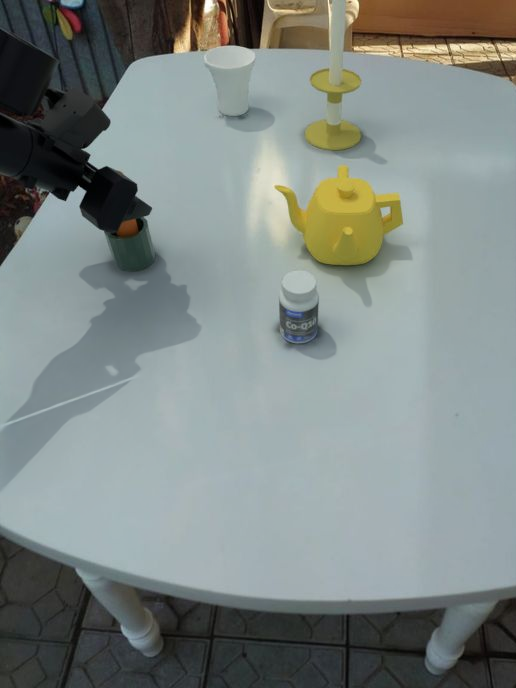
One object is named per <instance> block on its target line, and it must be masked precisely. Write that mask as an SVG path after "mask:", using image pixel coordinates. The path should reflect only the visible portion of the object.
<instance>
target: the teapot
mask: <svg viewBox="0 0 516 688" xmlns="http://www.w3.org/2000/svg"><path fill="white" fill-rule="evenodd" d="M274 189H275V190H276V191H278V192H279V193H281V194H282V195H283V196H284V198H285V200H286V203H287V207H288V208H287V210H288V216H289V220H290V222H291V224H292V226H293V227H294V229H296V230H297V231H298V232H299V233H301V234H302V237H303V241H304V244H305V246H306V248H307V250H308V252H309V253H310V254H311V256H312V258H314V259H315V260H316V261H317V262H319V263H321V264H325V265H333V266H357V265H358V266H359V265H363V264H366V263H368V262H370V261H371V260H373V259H374V258H375V257H376V256H377V254H378V253H379V252H380V249H381V247H382V245H383V241H384V236H385V235H387V234H388V233H390V232H392V231H394V230H395V229H397V228H400V227H401V226H402V225H404V220H403V211H402V204H401V198H400V194H399V192H392V193H391V192H390V193H380V194H375V192H374V190H373V188H372V186H371V184H370V183H369V182H368V181H366V180H365V179H362V178H357V177H350V173H349V167H348V166H347V165H345V164H340V165H339V166H338V167H337V176H336V177H329V178H325V179H323V180H321V181H320V182H319V183H318V185H317V187H316V188H315V190H314V192H313V193H312V195H311V197H310V200H309V202H308V204H307V207H306V209H305V210H303V209H302V208H301V207H300V205H299V204H298V199H297V196H296V193H295V191H293V190H292V189H291V188H290V187H287V186H284V185H281V184H277V185H276V184H275V185H274ZM388 207H389V213H388V214H386V215H384V216H383V214H382V210H381V209H384V208H388Z"/></svg>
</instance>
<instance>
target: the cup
mask: <svg viewBox="0 0 516 688" xmlns="http://www.w3.org/2000/svg"><path fill="white" fill-rule="evenodd" d="M256 59H257V57H256V52H254V51H252V50H251V49H250V48H248V47H244V46H239V45H222V46H217V47H213V48H211V49H210V50H208V51H207V52H205V54H204V55H203V66H204V67H205V68H207V69H208V71H209V73H210V75H211V77H212V80H213V83H214V86H215V89H216V95H217V104H218V105H217V106H218V110H219V112H220V113H221V114H222V115H224V116H227V117H238V116H242V115H244V114H246V113H247V112H248V111H249V108H250V107H249V106H250V105H249V89H250V88H249V86H250V82H251V74H252V71H253V69H254V67H255V63H256V61H257V60H256ZM247 106H248V107H247Z"/></svg>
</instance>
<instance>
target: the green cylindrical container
mask: <svg viewBox="0 0 516 688" xmlns="http://www.w3.org/2000/svg"><path fill="white" fill-rule="evenodd" d="M136 223H137V227H138V231H139V233H138V234H135V235H133V236H130V237H118V236H117V233H116V232H115V233H113V234H112V233H109V232H106V231H103V232H104V236H105V239H106V243H107V246H108V248H109V252H110V255H111V258H112V261H113V263H114V265H115V266H116V268H118V269H119V270H122V271H124V272H139V271H141V270H145V269H146V268H148V267H149V266H151V265H152V264H153V263H154V261H155V259H156V252H155V248H154V244H153V240H152V235H151V231H150V227H149V223H148V220H147V219H146V217H141V218H137V219H136Z"/></svg>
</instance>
